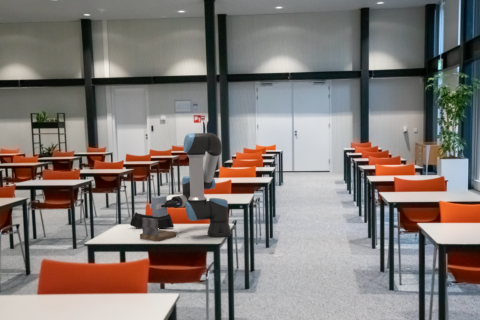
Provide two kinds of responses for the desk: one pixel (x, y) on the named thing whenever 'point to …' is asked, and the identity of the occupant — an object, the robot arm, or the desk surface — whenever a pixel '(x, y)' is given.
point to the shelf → (154, 231)
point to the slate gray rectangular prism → (155, 202)
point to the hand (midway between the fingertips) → (153, 206)
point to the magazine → (162, 221)
